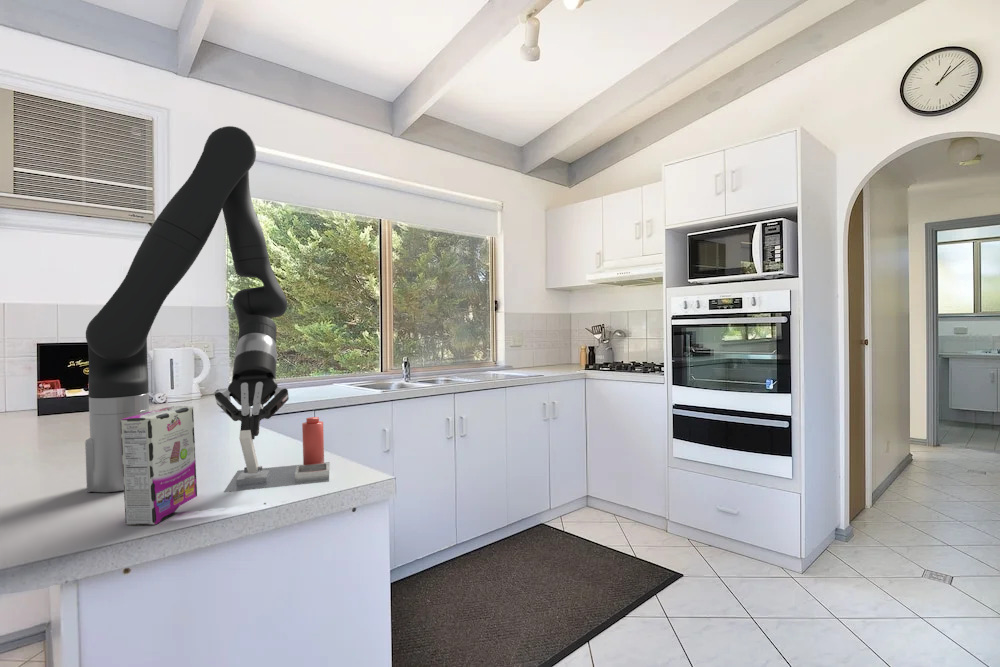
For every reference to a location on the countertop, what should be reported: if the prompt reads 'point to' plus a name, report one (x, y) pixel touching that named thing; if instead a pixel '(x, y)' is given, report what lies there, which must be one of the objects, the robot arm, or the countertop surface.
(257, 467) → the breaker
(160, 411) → the candy bar box
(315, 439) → the red cylindrical peg
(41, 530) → the countertop surface
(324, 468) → the panel
